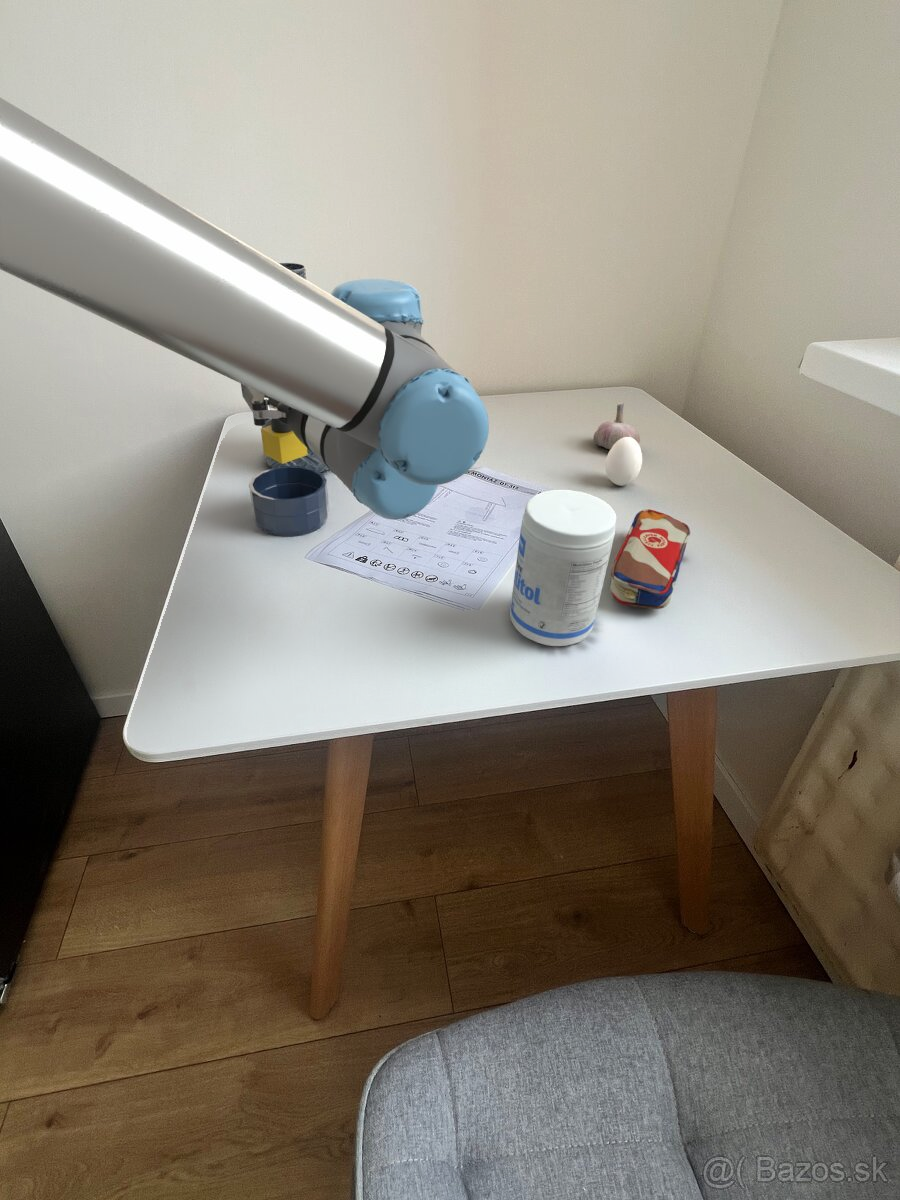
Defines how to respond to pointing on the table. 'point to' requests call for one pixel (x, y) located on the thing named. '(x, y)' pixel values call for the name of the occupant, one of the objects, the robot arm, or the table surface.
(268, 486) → the bowl
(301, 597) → the table surface
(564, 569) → the supplement tub
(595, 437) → the garlic bulb
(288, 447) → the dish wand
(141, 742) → the table surface
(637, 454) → the egg
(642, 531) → the pencil case
